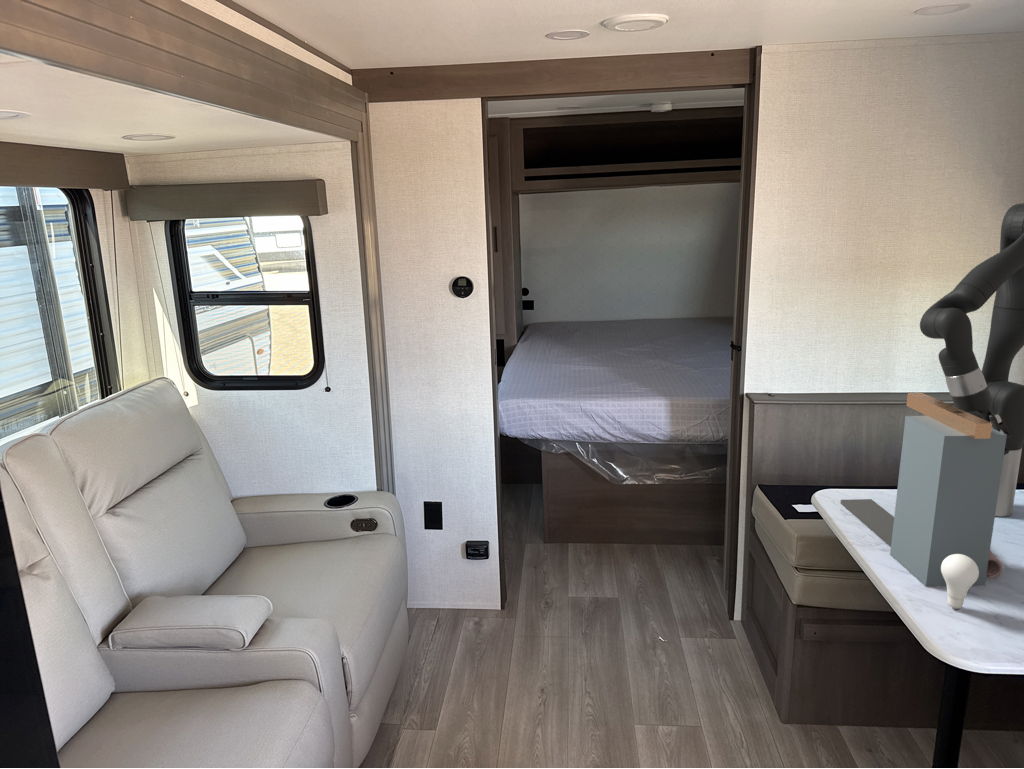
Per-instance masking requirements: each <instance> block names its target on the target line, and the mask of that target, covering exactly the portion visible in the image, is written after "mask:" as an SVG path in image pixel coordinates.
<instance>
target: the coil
mask: <svg viewBox="0 0 1024 769" xmlns="http://www.w3.org/2000/svg"><path fill="white" fill-rule="evenodd" d="M1003 570H1004V566H1003V564H1002V562H1001V560H1000V559H999V558H998V557H997V556H996V555H995V554H994V553H993V552H992V550H991V549H990V553H989V560H988V567H987V574H986V578H988V579H996V578H998V577H999V576H1000V575H1002V573H1003Z"/></svg>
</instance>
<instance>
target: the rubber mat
mask: <svg viewBox="0 0 1024 769" xmlns="http://www.w3.org/2000/svg"><path fill="white" fill-rule="evenodd" d="M840 504H841V506H843V507H844V508H845V509H847V511H849V513H851V514H852V515H853V516H854V517H855V518H856V519H858V520H859V521H860V522H861V523H862V524H864V525H865V526H866V527H867V528H868V529H869V530H870V531H871V532H873V534H875V535H876V536H877V537H878V538H879V539H880V540H882V541H883V542H884V543H885V545H886V544H887V546H888V547H890V548H891V542H892V533H893V524H894V515H892V514H891V513H890V512H889V511H887V510H886V509H884V507H882V506H881V505H880V504H878V503H877V502H876V501H875V500H873V499H872V498H868V499H867V498H865V499H864V498H863V499H860V498H858V499H840Z"/></svg>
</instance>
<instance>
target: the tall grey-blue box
mask: <svg viewBox="0 0 1024 769" xmlns="http://www.w3.org/2000/svg"><path fill="white" fill-rule="evenodd" d="M904 418H905V419H904V427H903V436H902V445H901V453H900V454H901V455H900V462H899V470H898V472H899V473H898V479H897V480H898V482H897V489H896V499H895V506H894V508H895V509H894V515H893V517H894V524H893V533H892V542H891V547H890V551H889V555H890V556H891V557H892V559H894V560H895V559H896V560H897V561H896V562H897V563H899V564H900V565H901V566H902V567H903V568H904V569H905V568H906V569H907V570H906V569H905V570H906V571H907V572H908V573H910V575H912V576H913V577H916V578H915V579H916V580H918V582H920V583H921V584H922V585H924V587H926V588H927V587H928V588H929V587H931V588H932V587H934V588H935V587H947V585H946V581H945V579H944V577H943V575H942V572H941V564H942V562H943V560H944V559H945V558H946V557H948V556H950V555H953V554H962V555H965V556H968V557H970V558H971V559H972V560H973V561H974V562H975V563H976V565H977V566H978V570H979V576H978V579H977V580H976V582H975V583H974V584H973V585H972V586H971V587H973V586H974V587H977V586H979V587H981V586H983V587H984V586H985V585H986V580H987V576H986V574H987V567H988V560H989V553H990V550H991V546H992V540H993V539H992V538H993V532H994V524H995V518H996V516H995V512H996V505H997V499H998V492H999V485H1000V478H1001V471H1002V464H1003V458H1004V451H1005V444H1006V437H1007V435H1006V434H1004V433H1002V432H999V431H997V430H995V429H993V428H992V429H991V437H990V439H974V438H972V437H970V436H968V435H966V434H963V433H961V432H959V431H957V430H955V429H953V428H951V427H949V426H947V425H945V424H943V423H941V422H939V421H937V420H935V419H932V418H930V417H928V416H926V415H906V416H904Z"/></svg>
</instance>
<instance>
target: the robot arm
mask: <svg viewBox="0 0 1024 769" xmlns="http://www.w3.org/2000/svg"><path fill="white" fill-rule="evenodd" d="M999 245H1000V246H999V251H998V252H997V253H996V254H994V255H993V256H990V257H989V258H987V259H985V260H984V261H982V262H980V263H978V264H977V265H976V266H974V267H973V268H972V269H971V270H970V271H968V273H966V275H965V276H964V277H963V278H962V279H961V280H960V281H959V283H958V284H957V285H956V286H955V287H954V288H953V290H951V291H950V292H949V293H947V294H945V295H943V296H942V297H941V298H940V299H939V300H937V301H936V302H935V303H933V304H932V305H931V306H929V308H928V309H927V310H925V311H924V313H923V314H922V316H921V319H920V321H919V329H920V331H921V333H922V334H923V335H924V336H925V337H927V338H929V339H937V340H938V339H939V340H944V342H945V345H944V346H945V347H944V348H942V349H941V350H940V351H939V353H938V361H939V364H940V367H941V369H942V372H943V375H944V378H945V382H946V383H945V384H946V386H947V389H948V391H949V395H950V397H951V400H952V402H953V403H952V404H953V405H954V407H956V408H958V409H960V410H963V411H965V412H967V413H970V414H972V415H974V416H977V417H979V418H981V419H984V420H986V421H988V422H990V423H992V428H993V429H995V430H997V431H999V432H1002V433H1004V434H1006V435H1007V437H1006V444H1005V451H1004V458H1003V464H1002V471H1001V478H1000V485H999V492H998V499H997V505H996V512H995V517H1001V518H1002V517H1009V516H1012V514H1013V511H1014V510H1013V509H1014V502H1015V495H1016V490H1017V483H1018V476H1019V471H1020V463H1021V458H1022V449H1023V445H1024V384H1021V383H1016V382H1013V381H1009V377H1010V376H1009V375H1010V372H1011V371H1010V370H1011V367H1012V364H1013V361H1014V359H1015V357H1016V355H1017V354H1018V353H1019V352H1020V351H1021V350H1022V348H1023V347H1024V203H1016V204H1014V205H1012V206H1011V207H1009V208H1008V209H1007V210H1006V212H1005V214H1004V216H1003V219H1002V222H1001V227H1000V244H999ZM994 293H995V296H994V302H993V306H992V313H991V319H990V329H989V335H988V336H989V337H988V341H987V347H986V351H985V357H984V360H983V364H982V368H981V369H980V366H979V363H978V360H977V357H976V355H975V352H974V351H973V350H974V349H973V348H974V347H973V345H974V344H973V343H974V342H973V326H972V321H971V319H970V317H969V316H968V315H967V314H969V313H973V312H976V311H978V310H980V309H981V308H982V307H983V306H984V305H985V304H986V302H988V300H989V299H990V298H992V296H993V295H994Z"/></svg>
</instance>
